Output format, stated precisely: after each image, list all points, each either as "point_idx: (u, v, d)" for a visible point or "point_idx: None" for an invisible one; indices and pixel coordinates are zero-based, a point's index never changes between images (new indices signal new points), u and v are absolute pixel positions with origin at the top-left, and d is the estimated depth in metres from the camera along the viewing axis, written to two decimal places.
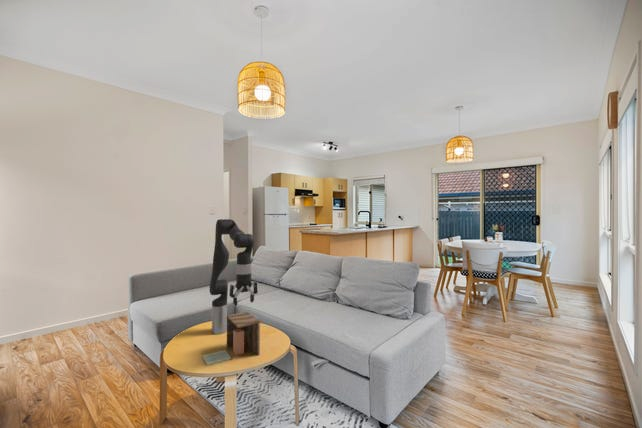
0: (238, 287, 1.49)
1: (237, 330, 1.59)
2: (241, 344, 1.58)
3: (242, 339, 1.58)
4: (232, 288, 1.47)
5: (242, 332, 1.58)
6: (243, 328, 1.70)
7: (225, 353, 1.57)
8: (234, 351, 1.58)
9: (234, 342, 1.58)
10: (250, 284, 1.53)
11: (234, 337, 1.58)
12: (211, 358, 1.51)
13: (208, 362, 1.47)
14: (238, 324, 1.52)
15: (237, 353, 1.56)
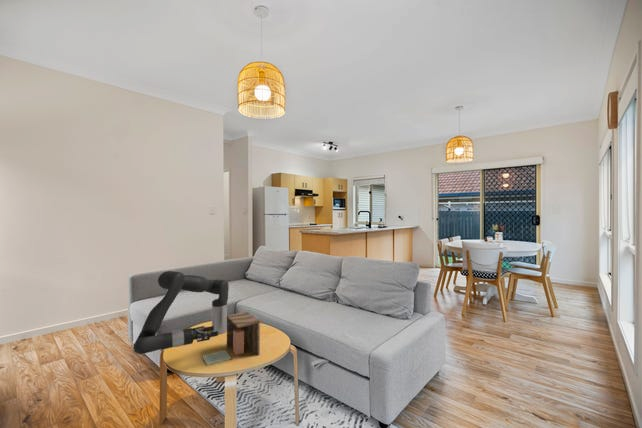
0: None
1: (237, 330, 1.59)
2: (241, 344, 1.58)
3: (242, 339, 1.58)
4: None
5: (242, 332, 1.58)
6: (243, 328, 1.70)
7: (225, 353, 1.57)
8: (234, 351, 1.58)
9: (234, 342, 1.58)
10: None
11: (234, 337, 1.58)
12: (211, 358, 1.51)
13: (208, 362, 1.47)
14: (238, 324, 1.52)
15: (237, 353, 1.56)
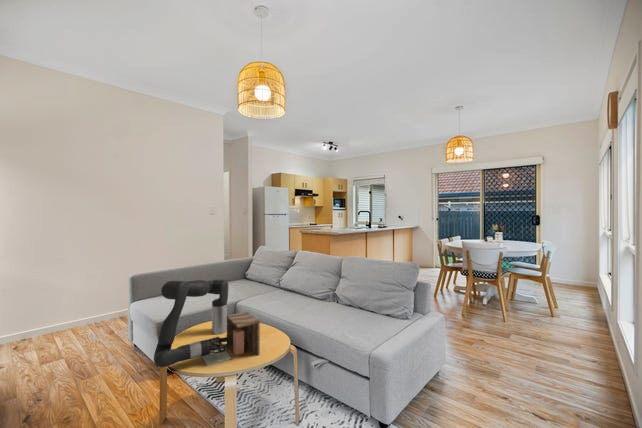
0: None
1: (237, 330, 1.59)
2: (241, 344, 1.58)
3: (242, 339, 1.58)
4: None
5: (242, 332, 1.58)
6: (243, 328, 1.70)
7: (225, 353, 1.57)
8: (234, 351, 1.58)
9: (234, 342, 1.58)
10: None
11: (234, 337, 1.58)
12: (211, 358, 1.51)
13: (208, 362, 1.47)
14: (238, 324, 1.52)
15: (237, 353, 1.56)
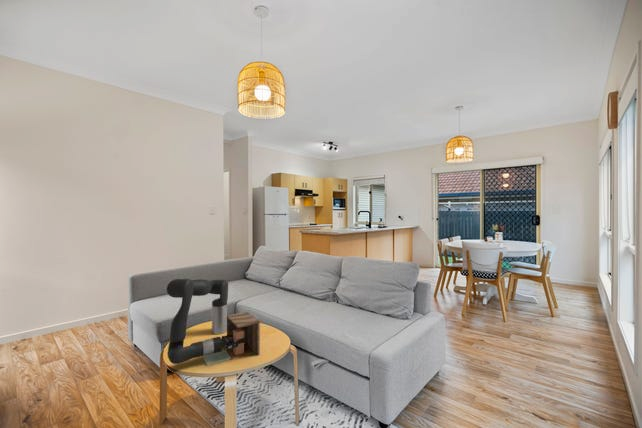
0: None
1: (237, 330, 1.59)
2: (241, 344, 1.58)
3: None
4: None
5: (242, 332, 1.58)
6: (243, 328, 1.70)
7: (225, 353, 1.57)
8: (234, 351, 1.58)
9: None
10: None
11: (234, 337, 1.58)
12: (211, 358, 1.51)
13: (208, 362, 1.47)
14: (238, 324, 1.52)
15: (237, 353, 1.57)
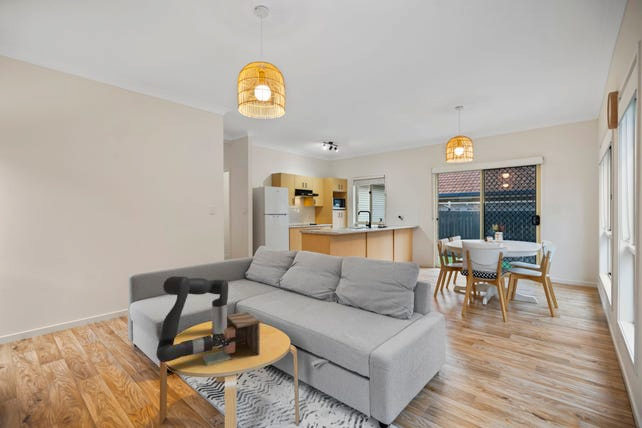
0: None
1: (228, 328, 1.57)
2: (232, 343, 1.55)
3: None
4: None
5: (233, 331, 1.55)
6: (243, 328, 1.70)
7: (225, 353, 1.57)
8: (225, 350, 1.55)
9: None
10: None
11: (225, 336, 1.55)
12: (211, 358, 1.51)
13: (208, 362, 1.47)
14: (238, 324, 1.52)
15: (228, 352, 1.54)
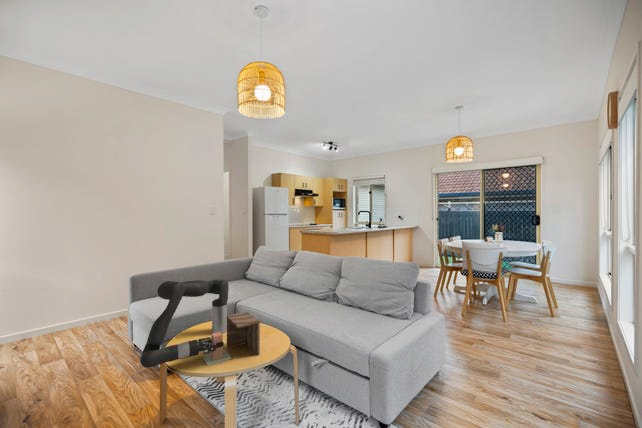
0: None
1: (215, 334, 1.53)
2: (219, 348, 1.51)
3: None
4: None
5: (220, 336, 1.52)
6: (243, 328, 1.70)
7: (225, 353, 1.57)
8: (212, 356, 1.51)
9: None
10: None
11: (212, 341, 1.51)
12: (211, 358, 1.51)
13: (208, 362, 1.47)
14: (238, 324, 1.52)
15: (215, 358, 1.50)
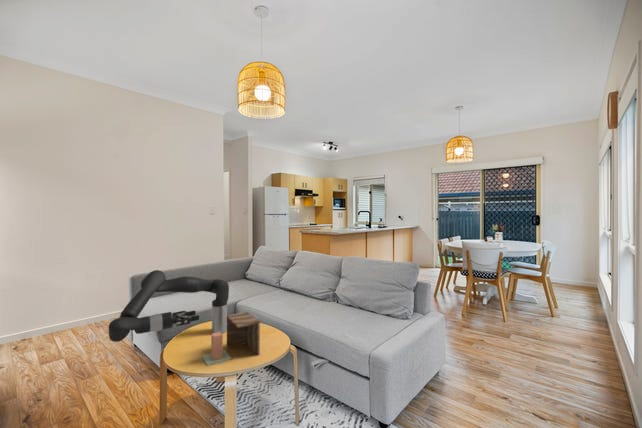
0: None
1: (215, 334, 1.53)
2: (219, 348, 1.51)
3: (220, 343, 1.52)
4: None
5: (220, 336, 1.52)
6: (243, 328, 1.70)
7: (225, 353, 1.57)
8: (212, 356, 1.51)
9: (212, 346, 1.51)
10: None
11: (212, 341, 1.51)
12: (211, 358, 1.51)
13: (208, 362, 1.47)
14: (238, 324, 1.52)
15: (215, 358, 1.50)
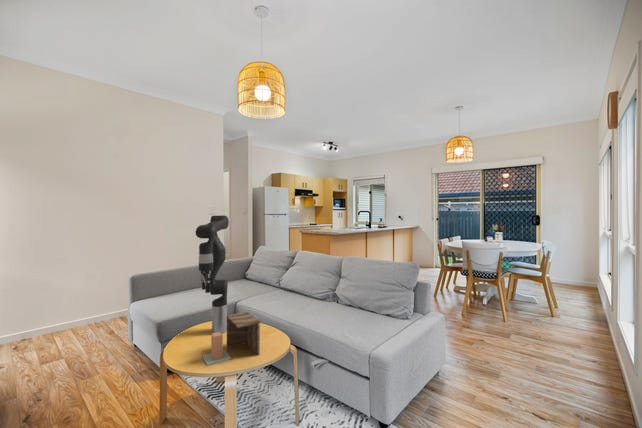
0: (202, 274, 1.63)
1: (215, 334, 1.53)
2: (219, 348, 1.51)
3: (220, 343, 1.52)
4: (201, 273, 1.66)
5: (220, 336, 1.52)
6: (243, 328, 1.70)
7: (225, 353, 1.57)
8: (212, 356, 1.51)
9: (212, 346, 1.51)
10: (205, 274, 1.58)
11: (212, 341, 1.51)
12: (211, 358, 1.51)
13: (208, 362, 1.47)
14: (238, 324, 1.52)
15: (215, 358, 1.50)
